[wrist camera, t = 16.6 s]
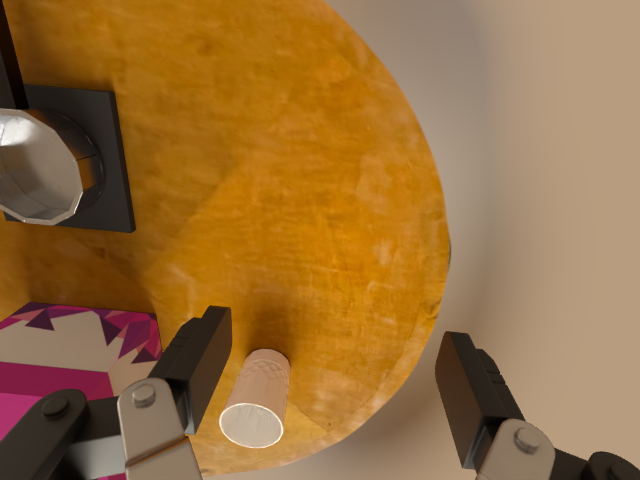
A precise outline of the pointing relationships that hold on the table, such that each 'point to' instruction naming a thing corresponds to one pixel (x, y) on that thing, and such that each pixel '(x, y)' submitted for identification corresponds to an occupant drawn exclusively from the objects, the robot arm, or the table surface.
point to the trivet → (103, 127)
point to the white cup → (257, 401)
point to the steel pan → (41, 152)
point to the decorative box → (72, 355)
